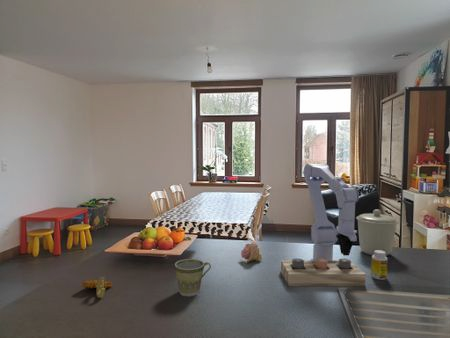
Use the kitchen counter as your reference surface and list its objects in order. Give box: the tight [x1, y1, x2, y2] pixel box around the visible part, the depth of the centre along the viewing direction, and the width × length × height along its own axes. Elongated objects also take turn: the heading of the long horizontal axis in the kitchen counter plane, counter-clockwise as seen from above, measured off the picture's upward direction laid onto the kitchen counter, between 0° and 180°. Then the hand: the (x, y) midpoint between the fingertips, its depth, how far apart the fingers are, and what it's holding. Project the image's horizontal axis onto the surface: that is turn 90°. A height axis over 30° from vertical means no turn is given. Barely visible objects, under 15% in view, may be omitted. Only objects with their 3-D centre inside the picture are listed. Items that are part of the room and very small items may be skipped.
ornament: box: [80, 276, 113, 299], centre depth 112 cm, size 7×10×15 cm
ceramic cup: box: [174, 258, 212, 297], centre depth 113 cm, size 13×10×10 cm
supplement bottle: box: [370, 250, 388, 281], centre depth 127 cm, size 6×6×10 cm
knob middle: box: [315, 259, 328, 269], centre depth 125 cm, size 4×4×4 cm
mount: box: [280, 259, 367, 287], centre depth 126 cm, size 14×28×4 cm, turn 92°
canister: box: [355, 209, 399, 257], centre depth 156 cm, size 18×18×21 cm
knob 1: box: [291, 258, 305, 269], centre depth 125 cm, size 4×4×4 cm
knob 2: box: [338, 258, 352, 269], centre depth 126 cm, size 4×4×4 cm
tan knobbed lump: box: [240, 240, 263, 264], centre depth 143 cm, size 9×10×10 cm
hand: (345, 254), depth 125 cm, fingers closed
